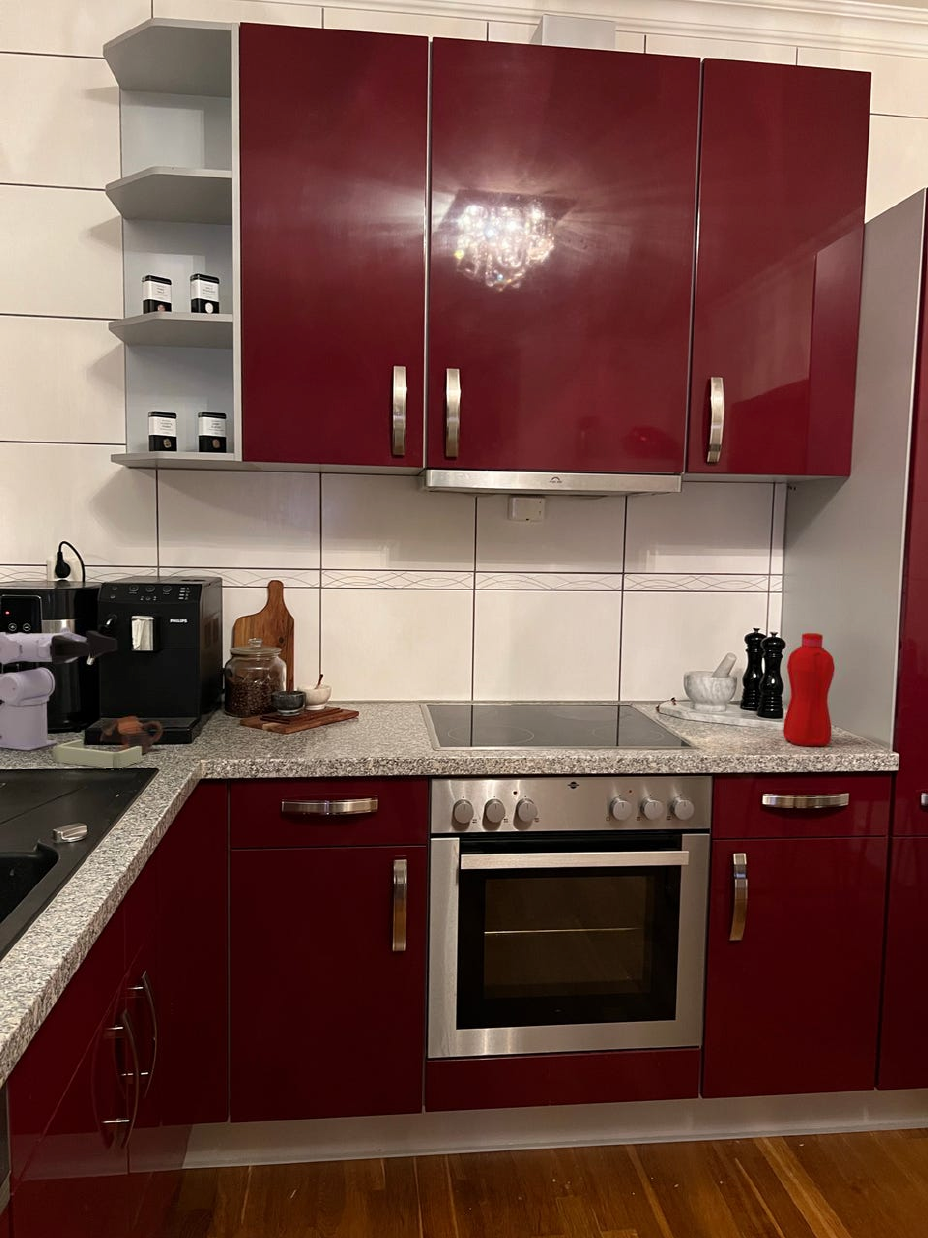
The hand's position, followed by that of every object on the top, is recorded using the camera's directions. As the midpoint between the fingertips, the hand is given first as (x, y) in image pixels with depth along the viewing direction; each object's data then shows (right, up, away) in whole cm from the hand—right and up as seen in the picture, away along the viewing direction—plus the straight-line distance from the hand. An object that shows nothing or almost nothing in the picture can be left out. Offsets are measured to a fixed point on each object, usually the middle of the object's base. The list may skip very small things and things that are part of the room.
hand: (102, 646), depth 184 cm
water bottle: (+149, -23, +29) cm, 153 cm away
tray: (0, -22, -4) cm, 22 cm away
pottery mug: (+4, -22, +5) cm, 23 cm away
